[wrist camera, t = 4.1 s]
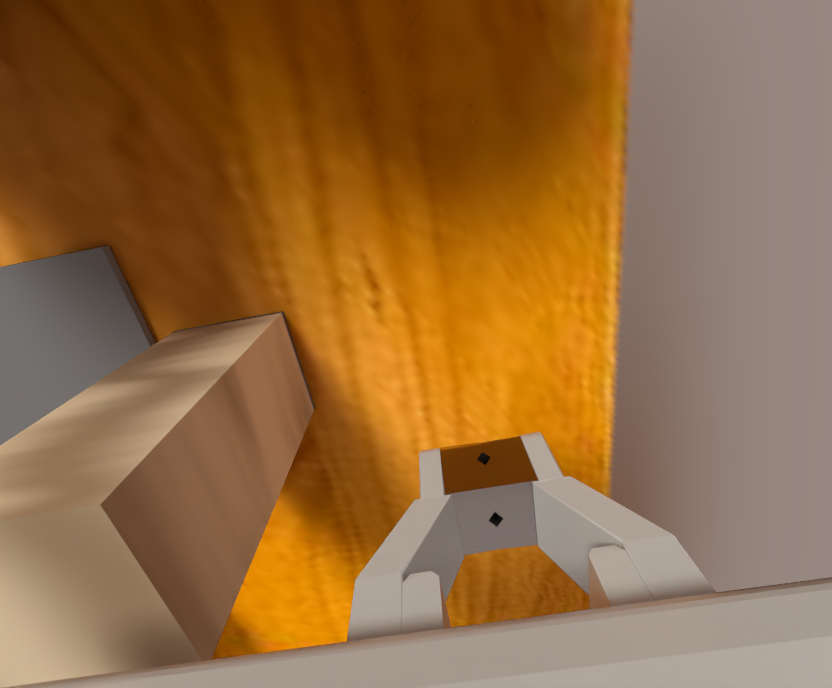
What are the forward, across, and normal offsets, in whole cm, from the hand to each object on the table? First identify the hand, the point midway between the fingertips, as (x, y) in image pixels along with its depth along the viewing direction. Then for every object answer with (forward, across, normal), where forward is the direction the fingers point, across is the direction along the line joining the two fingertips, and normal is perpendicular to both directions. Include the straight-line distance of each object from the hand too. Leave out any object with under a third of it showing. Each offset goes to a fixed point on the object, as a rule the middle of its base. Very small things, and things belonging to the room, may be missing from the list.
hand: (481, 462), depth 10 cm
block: (+9, +10, 0) cm, 13 cm away
